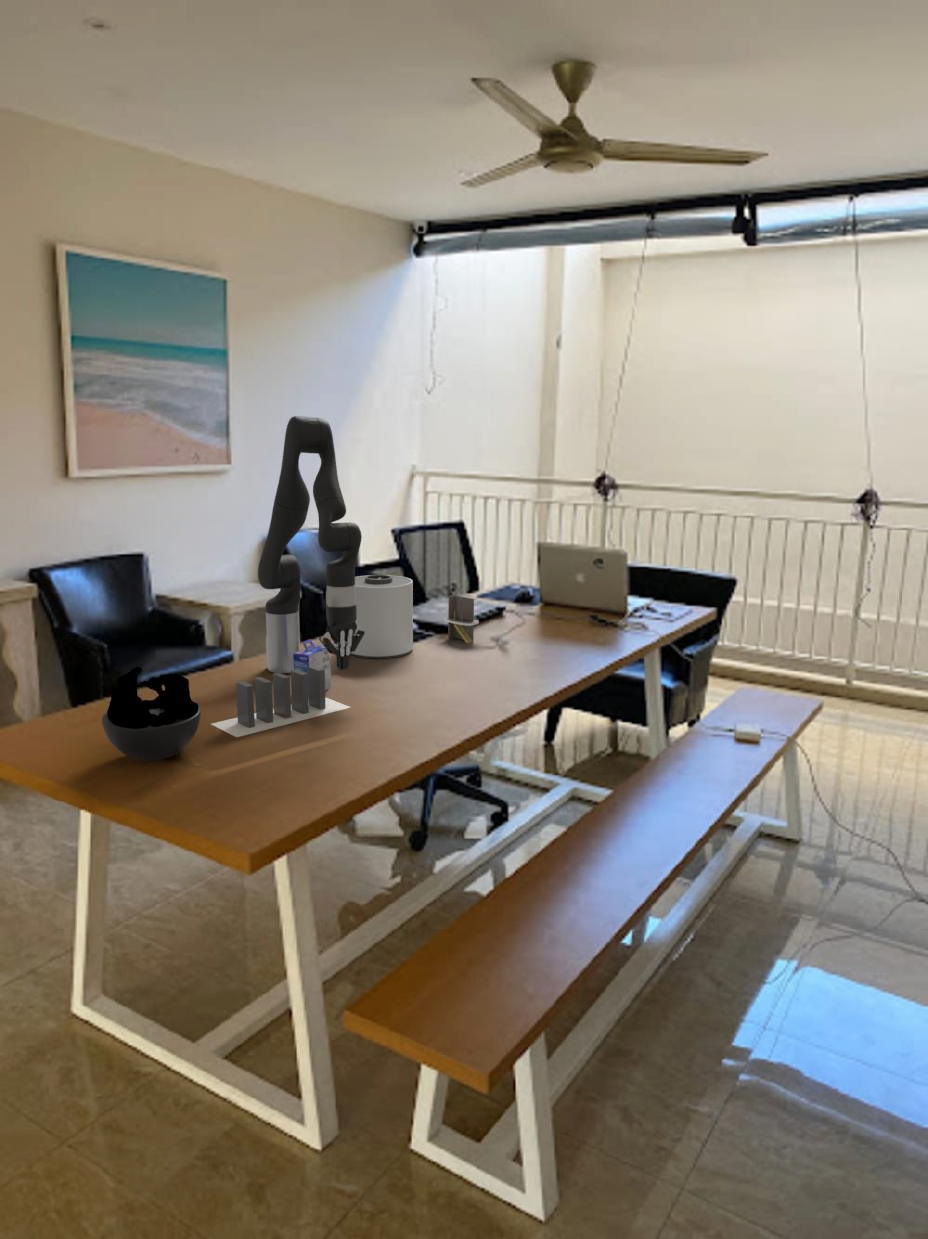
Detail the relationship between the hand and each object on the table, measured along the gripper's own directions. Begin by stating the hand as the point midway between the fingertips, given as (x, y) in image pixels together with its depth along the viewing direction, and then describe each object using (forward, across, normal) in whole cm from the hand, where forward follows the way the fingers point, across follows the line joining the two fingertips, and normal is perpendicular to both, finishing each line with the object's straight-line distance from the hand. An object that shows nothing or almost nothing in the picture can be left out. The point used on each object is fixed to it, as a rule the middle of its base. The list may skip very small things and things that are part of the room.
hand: (342, 669), depth 231 cm
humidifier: (+9, -38, -36) cm, 53 cm away
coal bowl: (+9, +52, +3) cm, 53 cm away
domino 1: (+8, +28, 0) cm, 29 cm away
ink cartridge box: (+9, +1, -12) cm, 15 cm away
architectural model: (+10, -68, -28) cm, 74 cm away
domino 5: (+8, +8, 0) cm, 11 cm away
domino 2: (+8, +23, 0) cm, 24 cm away
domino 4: (+8, +13, 0) cm, 15 cm away
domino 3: (+8, +18, 0) cm, 20 cm away
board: (+9, +18, 0) cm, 20 cm away
